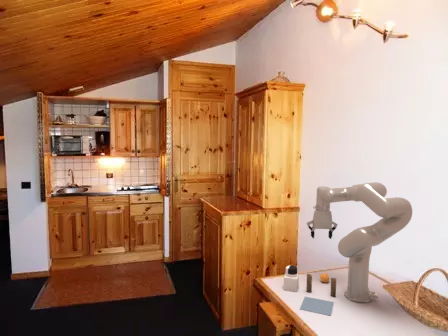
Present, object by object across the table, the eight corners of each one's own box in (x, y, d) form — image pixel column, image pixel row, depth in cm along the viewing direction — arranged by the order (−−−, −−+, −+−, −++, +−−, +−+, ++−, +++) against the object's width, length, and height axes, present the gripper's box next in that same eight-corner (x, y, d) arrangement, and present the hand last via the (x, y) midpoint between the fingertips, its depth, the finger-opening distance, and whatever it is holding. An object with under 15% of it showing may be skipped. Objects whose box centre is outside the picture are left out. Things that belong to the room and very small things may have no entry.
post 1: (311, 291, 170) (312, 274, 170) (311, 293, 168) (311, 276, 167) (306, 290, 171) (307, 273, 171) (306, 292, 169) (306, 275, 168)
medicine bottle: (298, 286, 175) (299, 265, 175) (297, 292, 169) (297, 269, 168) (285, 284, 178) (285, 263, 177) (283, 290, 171) (283, 268, 170)
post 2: (336, 295, 165) (336, 278, 165) (335, 297, 163) (336, 280, 162) (330, 294, 166) (331, 277, 166) (330, 296, 164) (330, 279, 163)
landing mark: (333, 302, 158) (333, 301, 158) (330, 315, 145) (330, 315, 145) (304, 296, 163) (304, 296, 163) (299, 309, 151) (299, 309, 151)
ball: (329, 281, 183) (329, 272, 183) (328, 284, 178) (328, 275, 178) (320, 279, 185) (320, 271, 185) (319, 283, 180) (319, 274, 180)
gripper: (309, 209, 179) (307, 239, 180) (340, 210, 179) (338, 240, 180) (306, 206, 186) (304, 235, 188) (336, 207, 186) (334, 236, 188)
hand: (321, 237), depth 184 cm, fingers open, 9 cm apart
